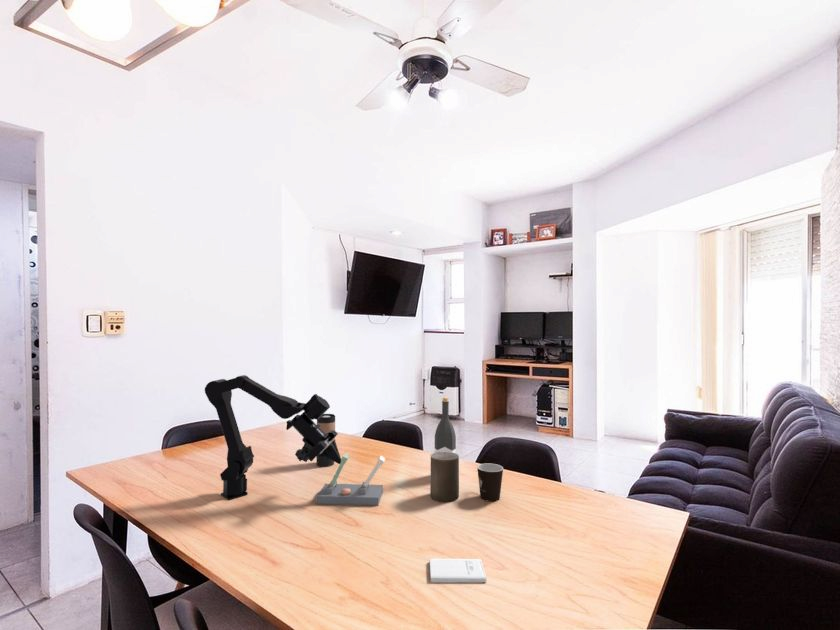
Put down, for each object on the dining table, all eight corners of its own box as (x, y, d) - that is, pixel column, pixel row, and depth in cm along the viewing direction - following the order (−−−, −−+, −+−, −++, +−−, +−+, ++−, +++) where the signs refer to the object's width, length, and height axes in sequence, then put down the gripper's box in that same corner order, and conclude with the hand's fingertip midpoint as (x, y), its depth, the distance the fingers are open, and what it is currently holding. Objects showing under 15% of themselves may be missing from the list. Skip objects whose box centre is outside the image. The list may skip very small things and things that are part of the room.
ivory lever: (358, 490, 138) (378, 458, 139) (361, 485, 143) (380, 454, 143) (364, 493, 138) (384, 462, 138) (366, 488, 143) (385, 458, 143)
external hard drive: (429, 564, 103) (480, 564, 103) (430, 584, 94) (486, 584, 94) (429, 557, 103) (480, 557, 103) (430, 577, 94) (486, 577, 94)
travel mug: (311, 465, 174) (312, 416, 174) (324, 460, 180) (325, 413, 181) (326, 468, 170) (327, 418, 171) (338, 463, 177) (339, 414, 178)
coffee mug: (503, 504, 137) (503, 472, 137) (476, 501, 139) (476, 470, 139) (503, 490, 148) (503, 461, 149) (478, 488, 150) (478, 460, 150)
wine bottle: (455, 473, 165) (456, 396, 166) (455, 480, 157) (455, 399, 158) (435, 472, 166) (435, 395, 167) (433, 479, 158) (434, 399, 159)
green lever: (325, 489, 139) (342, 456, 139) (329, 485, 143) (345, 452, 143) (331, 492, 139) (347, 459, 139) (334, 487, 143) (350, 455, 143)
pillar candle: (457, 503, 137) (457, 456, 137) (427, 500, 139) (428, 454, 139) (460, 492, 146) (460, 448, 147) (432, 489, 148) (433, 446, 149)
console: (316, 503, 136) (316, 490, 136) (325, 490, 147) (325, 478, 147) (378, 505, 135) (378, 492, 135) (382, 492, 146) (382, 479, 146)
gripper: (300, 439, 151) (330, 470, 151) (281, 454, 133) (315, 490, 132) (322, 417, 151) (352, 448, 151) (306, 429, 133) (340, 465, 132)
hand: (340, 462), depth 141 cm, fingers closed, pressing on green lever
